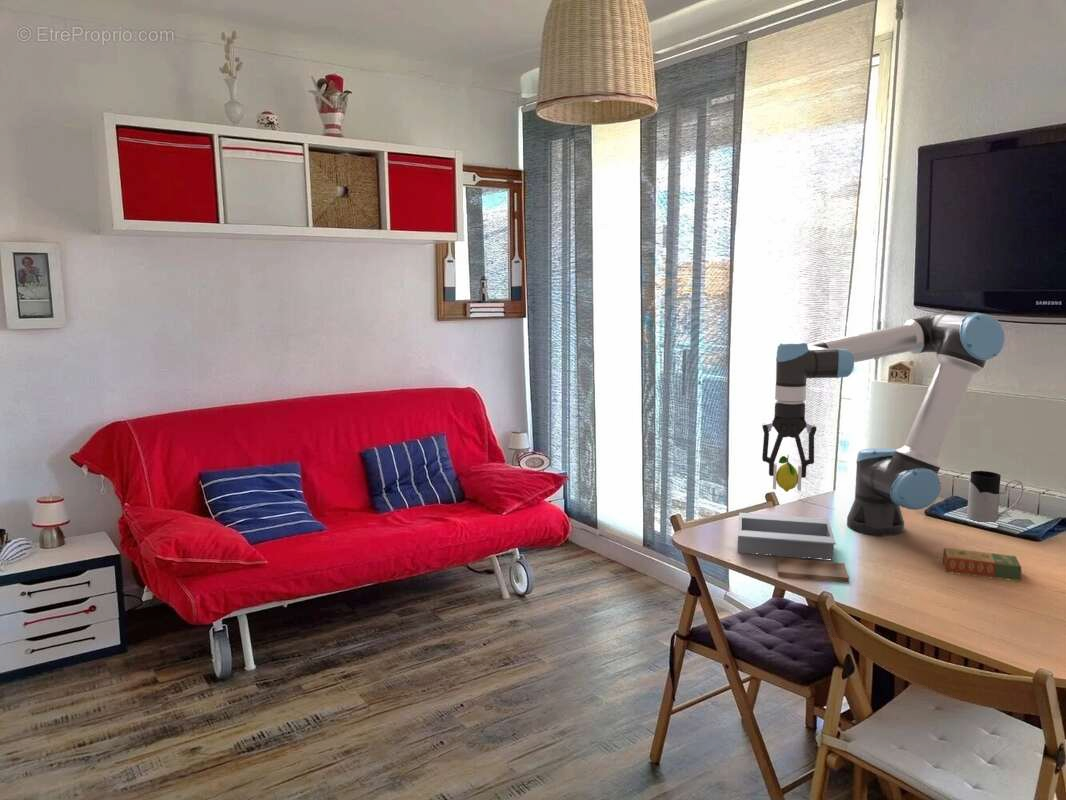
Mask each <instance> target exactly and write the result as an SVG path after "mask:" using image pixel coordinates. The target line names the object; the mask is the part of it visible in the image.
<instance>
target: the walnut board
mask: <svg viewBox="0 0 1066 800" xmlns="http://www.w3.org/2000/svg"><path fill="white" fill-rule="evenodd" d="M776 567H777V568H778V569H777V568H776V569H777V577H779V576H782V577H781V578H789V579H790V578H792V579H801V578H807V579H806V580H812V579H818V580H817V581H824V580H825V581H826V582H838V583H846V582H848V583H850V582H849V581H850V577H849V573H848V571H847V567H846V564H845V563H844V562H834V561H824V560H823V561H822V560H821V561H820V560H812V559H809V560H808V559H800V558H788V557H787V558H786V557H777V558H776Z"/></svg>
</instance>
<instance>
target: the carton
mask: <svg viewBox="0 0 1066 800" xmlns="http://www.w3.org/2000/svg"><path fill="white" fill-rule="evenodd" d="M942 562H943V563H944V564H943V563H942V564H943V567H945V568H944V572H945V573H948V572H953V573H952V574H956V573H960V574H959V575H964V574H969V575H968V576H972V575H976V576H975V577H980V576H985V577H984V578H988V577H992V578H991V579H996V578H1001V579H1000V580H1004V579H1010V580H1009V581H1012V580H1018V581H1017V582H1022V565H1021V564H1020V561H1018V558H1017V556H1015V555H1009V554H1001V553H993V552H983V551H975V550H965V549H957V548H949V547H944V548H943V553H942Z"/></svg>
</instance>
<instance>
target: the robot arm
mask: <svg viewBox="0 0 1066 800" xmlns="http://www.w3.org/2000/svg"><path fill="white" fill-rule="evenodd" d="M1005 337H1006V335H1005V331H1004V329H1003V326H1002V324H1001V323H1000V321H999V320H998V319H997V318H996V317H994V316H992V315H990V314H987V313H986V314H985V313H981V312H979V311H978V312H966V311H965V312H964V311H951V310H949V311H943V312H939V313H938V312H937V313H933V314H929V315H926V316H925V315H924V316H921V317H917V318H913V319H909V320H907V321H906V322H905V323H904V324H902V325H901V324H900V325H897V326H892V327H888V328H881V329H876V330H872V331H866V332H862V333H857V334H852V335H846V336H842V337H837V338H832V339H827V340H826V339H825V340H822V341H816V342H812V343H807V342H805V341H789V340H788V341H782V342H779V344H778V345H777V350H776V357H775V363H776V368H775V388H774V389H775V392H774V395H775V396H774V399H775V400H776V402H775V403H774V415H773V420H772V422H768V423H765V422H763V423H762V430H763V443H762V444H763V445H762V456H761V457H762V462H765V463H767V464H768V475H769V477H772V489H773V490H777V481H776V476H777V471H778V464H777V463H778V462H775V461H776V458H777V456H778V453H779V451H780V447H781V444H782V442H783V439H784V438H793V439H794V440H795V444H796V448H797V451H798V455H799V458H800V462H801V463H798V464H797V473H798V483H797V485H796V486H797V491H800V492H801V490H802V479H803V478H804V479H805V478H806V477H807V466H808V465H813V464H814V463H815V435H816V432H817V426H816V425H815V424H809V423H808V422H807V421H806V403H805V401H807V400H806V398H807V397H806V395H807V379H839V378H847V377H850V376H851V374H852V373H853V371H854V368H855V367H854V365H855V363H858V362H864V361H868V360H873V359H878V358H883V357H884V358H885V357H888V356H892V355H893V356H894V355H899V354H903V353H904V354H905V353H907V352H909V353H912V354H914V355H916V354H917V355H918V354H922V353H936V354H935V357H936V359H937V362H938V365H937V367H936V369H935V371H934V374H933V377H932V379H931V382H930V383H929V386H928V389H927V391H926V393H925V396H924V397H923V400H922V403H921V405H920V407H919V410H918V412H917V414H916V416H915V419H914V421H913V423H912V426H911V429H910V431H909V433H908V436H907V437H906V440H905V443H904V445H903V446H901V447H900V448H899V447H898V448H896V449H895V448H879V447H878V448H862V449H861V450H859V451H858V453H857V456H856V457H857V458H856V462H855V463H856V474H855V488H854V489H855V493H854V499H853V503H852V505H851V507H850V509H849V510H850V511H849V512H848V515H847V518H846V525H847V527H848V528H849V527H850V528H849V529H852V530H853V531H857V532H859V533H862V534H868V535H876V536H895V535H900V534H903V533H904V532H905V521H904V517H903V514H902V510H901V507H902V508H905V509H908V510H913V511H916V510H918V511H919V510H922V509H925V508H927V507H929V506H931V505H932V504H934V503H935V501H936V500H937V498H939V495H940V493H941V489H942V484H941V482H940V478H939V476H938V473H939V472H940V469H941V464H940V462H939V460H938V457H939V455H940V453H941V450H942V448H943V446H944V443H945V441H946V438H947V436H948V435H949V431H950V429H951V428H952V425H953V423H954V420H955V418H956V415H957V413H958V411H959V409H960V407H961V404H962V402H963V399H964V397H965V395H966V392H967V390H968V388H969V385H970V383H971V381H972V379H973V376H974V375H975V374H976V373H979V372H981V371H982V370H984V367H985V365H986V362H987V361H988V360H991V359H993V358H994V357H996V356H999V354H1000V353H1001V352H1002V350H1003V348H1004V345H1005ZM772 428H774V429H775V431H776V432H777V436H776V439H775V442H774V445H773V448H772V450H771V453H770V457H769V456H768V455H769V454H768V453H769V442H770V432H771V431H772ZM805 429H806V432H807V433H808V458H806V456H805V453H804V448H803V444H802V441H801V437H800V434H801V433H802V432H803V431H804V430H805Z"/></svg>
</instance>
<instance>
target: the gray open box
mask: <svg viewBox="0 0 1066 800" xmlns="http://www.w3.org/2000/svg"><path fill="white" fill-rule="evenodd" d="M737 528H738V530H737V553H738V554H747V553H755V554H754V555H759V554H768V555H767V556H771V555H779V556H778V557H783V556H789V557H788V558H796V557H806V558H805V559H808V557H810V558H822V559H831V560H830V561H832V560H833V561H834V546H835V545H836V544H837V543H836V539H835V536H834V533H833V530H832V527H831V522H830V520H829V518H823V517H821V518H820V517H806V516H793V515H782V514H781V515H780V514H767V513H765V514H764V513H749V512H739V514H738V527H737ZM740 552H741V553H740ZM756 553H758V554H756ZM770 554H771V555H770Z"/></svg>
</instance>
